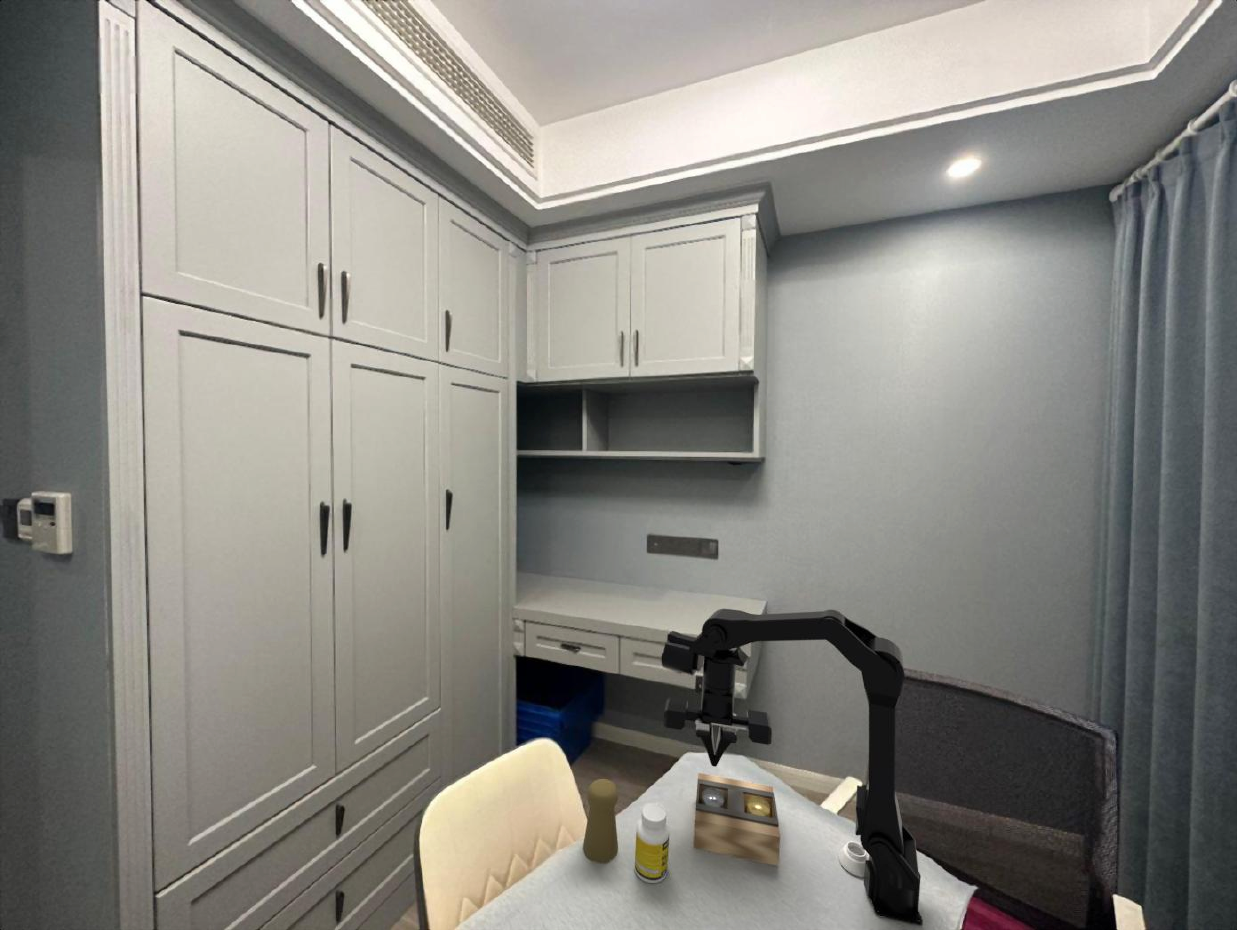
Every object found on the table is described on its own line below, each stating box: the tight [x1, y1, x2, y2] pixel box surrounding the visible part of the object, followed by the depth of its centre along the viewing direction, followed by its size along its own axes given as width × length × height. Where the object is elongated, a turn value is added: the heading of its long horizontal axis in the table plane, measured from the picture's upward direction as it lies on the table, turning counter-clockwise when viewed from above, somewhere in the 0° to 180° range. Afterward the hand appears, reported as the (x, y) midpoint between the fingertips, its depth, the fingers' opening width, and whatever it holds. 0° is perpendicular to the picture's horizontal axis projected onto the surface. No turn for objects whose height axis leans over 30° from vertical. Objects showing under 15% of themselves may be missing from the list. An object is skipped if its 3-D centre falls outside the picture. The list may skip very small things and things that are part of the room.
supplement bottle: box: [634, 802, 671, 884], centre depth 77 cm, size 5×5×10 cm
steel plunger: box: [702, 789, 724, 808], centre depth 87 cm, size 4×4×5 cm
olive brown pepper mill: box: [582, 778, 619, 864], centre depth 81 cm, size 6×6×11 cm
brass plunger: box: [747, 797, 770, 817], centre depth 85 cm, size 4×4×5 cm
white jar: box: [838, 840, 869, 878], centre depth 80 cm, size 5×3×5 cm
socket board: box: [693, 772, 781, 867], centre depth 86 cm, size 14×12×5 cm
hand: (713, 765), depth 87 cm, fingers closed
